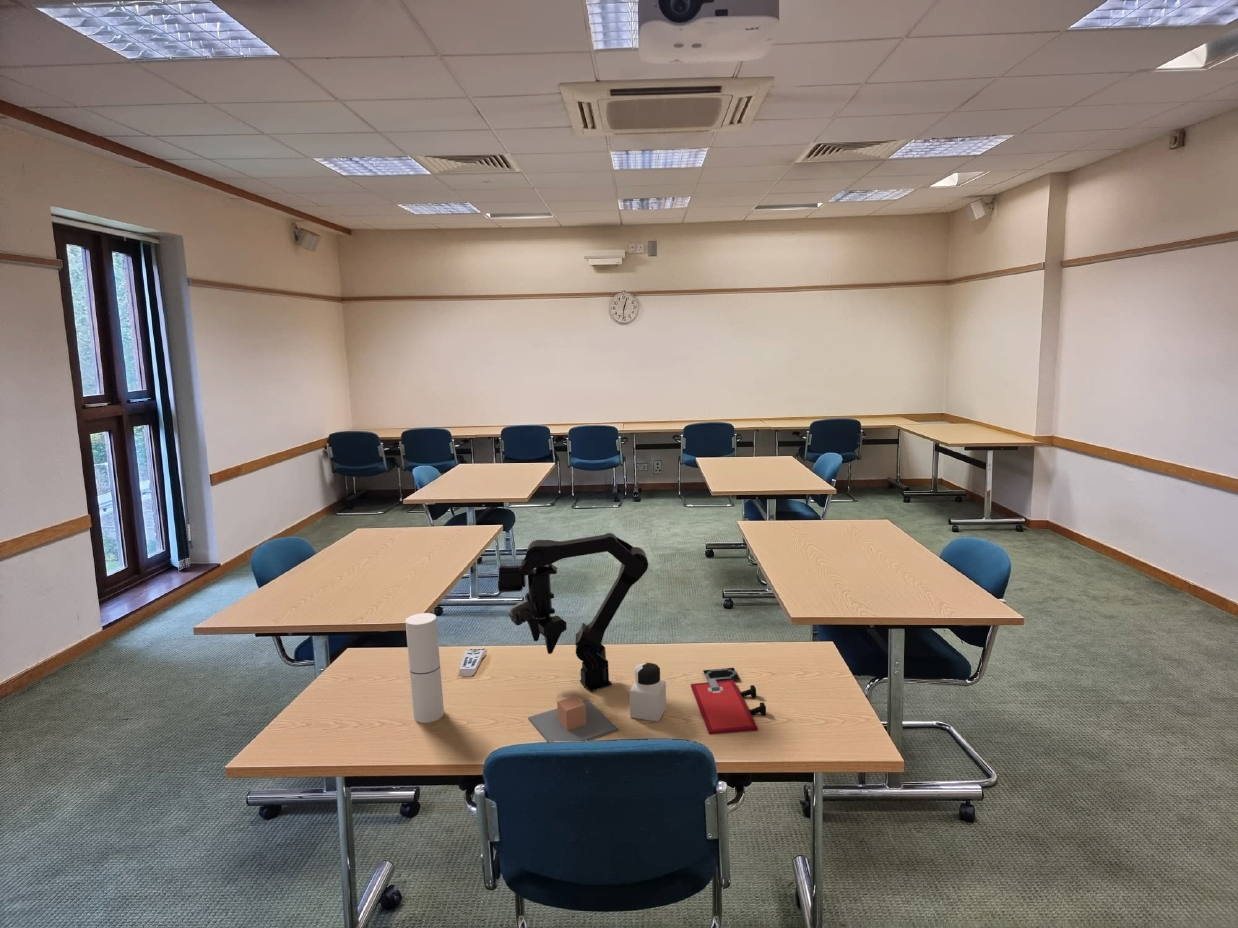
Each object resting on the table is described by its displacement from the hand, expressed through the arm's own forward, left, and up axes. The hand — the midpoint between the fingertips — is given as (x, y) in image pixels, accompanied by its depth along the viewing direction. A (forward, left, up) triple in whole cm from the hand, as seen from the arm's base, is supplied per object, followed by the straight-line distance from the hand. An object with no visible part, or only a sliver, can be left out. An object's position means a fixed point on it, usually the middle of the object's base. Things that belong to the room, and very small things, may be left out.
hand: (542, 647), depth 183 cm
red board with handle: (-36, +31, -12) cm, 49 cm away
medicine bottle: (-16, +26, -11) cm, 33 cm away
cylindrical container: (+30, -2, -11) cm, 32 cm away
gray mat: (+2, +21, -11) cm, 24 cm away
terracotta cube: (+2, +21, -10) cm, 23 cm away
